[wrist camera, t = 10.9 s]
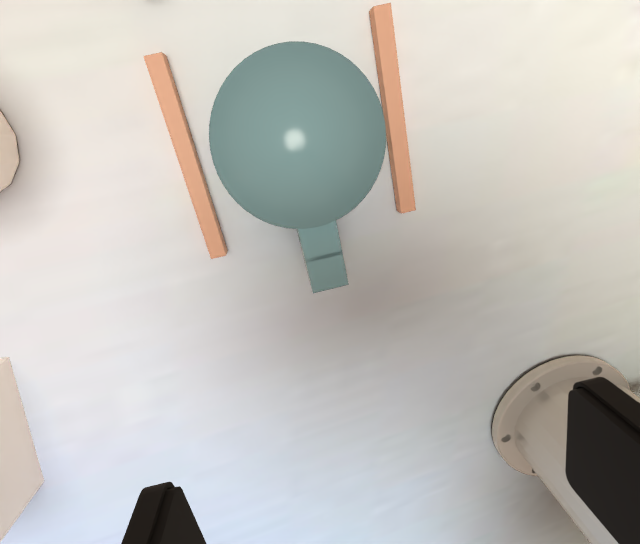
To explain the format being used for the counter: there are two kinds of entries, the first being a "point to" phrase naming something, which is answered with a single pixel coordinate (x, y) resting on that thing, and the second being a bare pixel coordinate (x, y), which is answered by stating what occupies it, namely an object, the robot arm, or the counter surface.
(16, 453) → the milk
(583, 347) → the counter surface
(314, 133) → the jug
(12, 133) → the white cup
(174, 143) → the strips
